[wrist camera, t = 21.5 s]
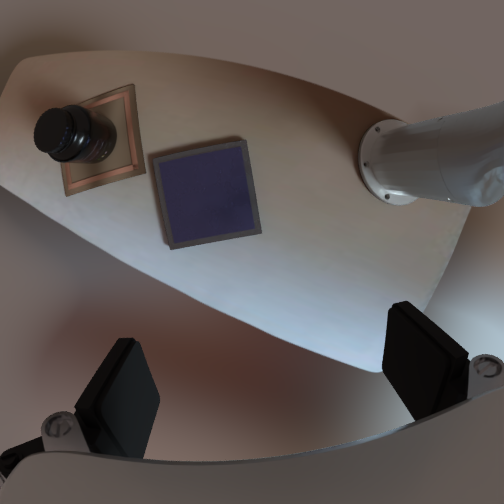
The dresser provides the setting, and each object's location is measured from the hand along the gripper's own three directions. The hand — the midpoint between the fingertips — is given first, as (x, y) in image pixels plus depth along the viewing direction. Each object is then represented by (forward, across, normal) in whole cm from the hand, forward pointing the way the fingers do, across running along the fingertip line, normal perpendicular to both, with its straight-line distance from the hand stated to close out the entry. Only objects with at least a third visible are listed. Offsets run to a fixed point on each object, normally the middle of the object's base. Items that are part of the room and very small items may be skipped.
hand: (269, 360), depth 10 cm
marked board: (+28, +19, -15) cm, 37 cm away
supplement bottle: (+28, +19, -15) cm, 37 cm away
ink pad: (+29, +5, -5) cm, 29 cm away
